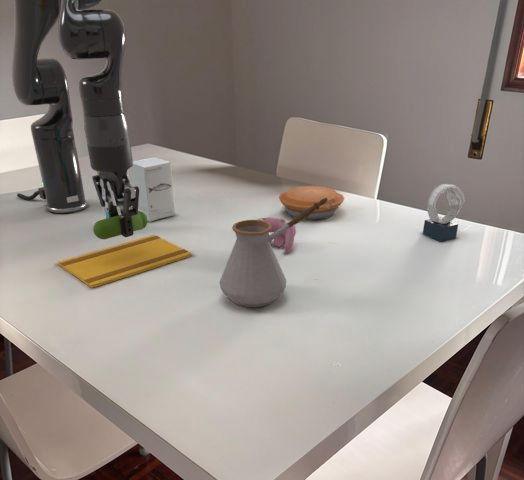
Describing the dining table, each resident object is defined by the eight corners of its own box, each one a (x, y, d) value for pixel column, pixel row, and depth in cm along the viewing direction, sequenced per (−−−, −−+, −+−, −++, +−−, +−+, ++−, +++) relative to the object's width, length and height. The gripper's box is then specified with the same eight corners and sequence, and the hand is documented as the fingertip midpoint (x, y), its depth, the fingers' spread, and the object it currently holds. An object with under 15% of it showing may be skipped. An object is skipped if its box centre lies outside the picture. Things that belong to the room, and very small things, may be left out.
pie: (321, 227, 127) (322, 205, 124) (266, 214, 135) (266, 194, 132) (355, 209, 137) (356, 189, 135) (302, 198, 145) (302, 179, 143)
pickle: (91, 238, 107) (88, 220, 105) (142, 224, 114) (140, 207, 112) (100, 243, 105) (97, 225, 103) (152, 229, 111) (150, 211, 109)
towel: (57, 264, 111) (57, 261, 110) (153, 237, 123) (153, 234, 123) (92, 288, 102) (91, 284, 101) (191, 256, 114) (191, 252, 113)
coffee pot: (240, 319, 91) (237, 230, 83) (208, 292, 100) (203, 209, 92) (344, 288, 101) (351, 205, 93) (307, 266, 109) (310, 189, 101)
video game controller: (294, 255, 117) (299, 221, 117) (289, 253, 113) (294, 218, 112) (250, 249, 120) (254, 216, 119) (243, 247, 116) (247, 213, 115)
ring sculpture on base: (462, 236, 121) (472, 185, 116) (434, 243, 118) (442, 191, 112) (444, 228, 126) (452, 179, 120) (416, 235, 122) (423, 184, 117)
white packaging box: (149, 222, 131) (143, 167, 124) (133, 215, 136) (126, 161, 129) (176, 215, 135) (171, 161, 128) (159, 208, 140) (153, 156, 133)
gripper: (147, 143, 98) (158, 238, 107) (108, 132, 107) (121, 220, 116) (108, 150, 94) (123, 248, 103) (71, 137, 103) (87, 228, 112)
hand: (122, 232), depth 109 cm, fingers closed on pickle, 3 cm apart
